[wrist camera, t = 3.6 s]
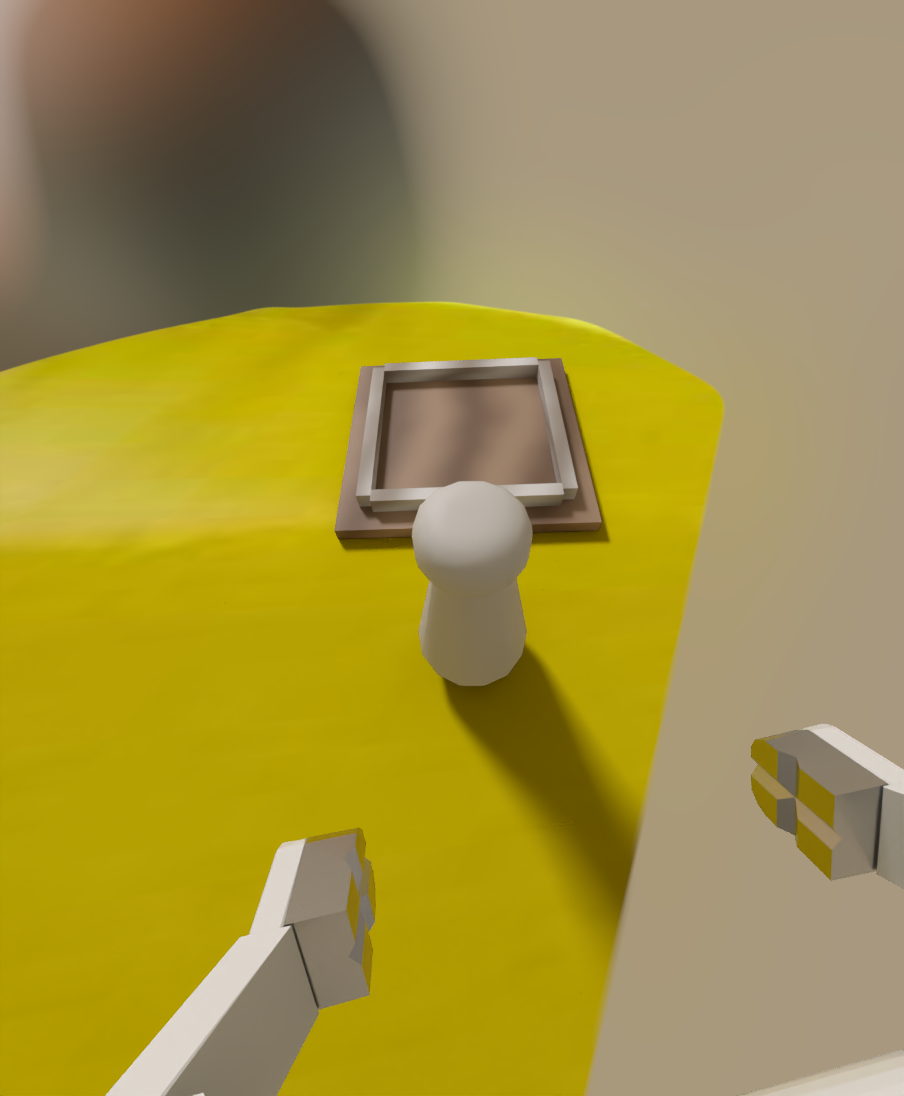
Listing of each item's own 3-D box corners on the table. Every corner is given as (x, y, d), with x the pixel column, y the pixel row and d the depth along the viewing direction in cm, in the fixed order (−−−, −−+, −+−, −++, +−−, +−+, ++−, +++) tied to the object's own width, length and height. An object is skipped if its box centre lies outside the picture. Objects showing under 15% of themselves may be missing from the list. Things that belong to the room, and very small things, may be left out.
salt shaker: (535, 626, 26) (584, 484, 15) (497, 715, 23) (522, 624, 12) (449, 588, 27) (435, 435, 16) (405, 668, 25) (353, 549, 14)
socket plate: (338, 538, 30) (329, 520, 28) (363, 376, 39) (357, 354, 38) (598, 530, 29) (606, 511, 28) (559, 368, 39) (563, 345, 37)
